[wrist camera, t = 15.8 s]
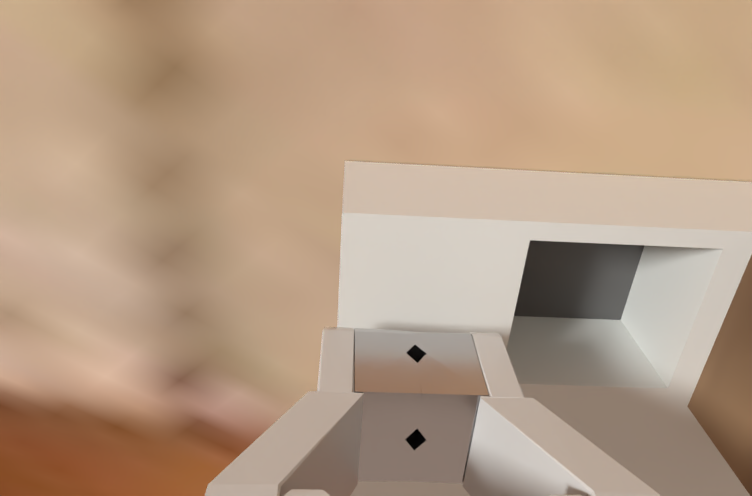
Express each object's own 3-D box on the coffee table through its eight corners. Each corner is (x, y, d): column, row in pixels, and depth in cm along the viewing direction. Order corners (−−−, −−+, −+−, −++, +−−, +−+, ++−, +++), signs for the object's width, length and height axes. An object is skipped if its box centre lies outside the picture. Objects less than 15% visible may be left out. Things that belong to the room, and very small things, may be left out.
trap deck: (344, 160, 12) (342, 212, 9) (1165, 203, 13) (1335, 259, 10) (332, 446, 15) (328, 530, 13) (967, 461, 16) (1061, 542, 14)
